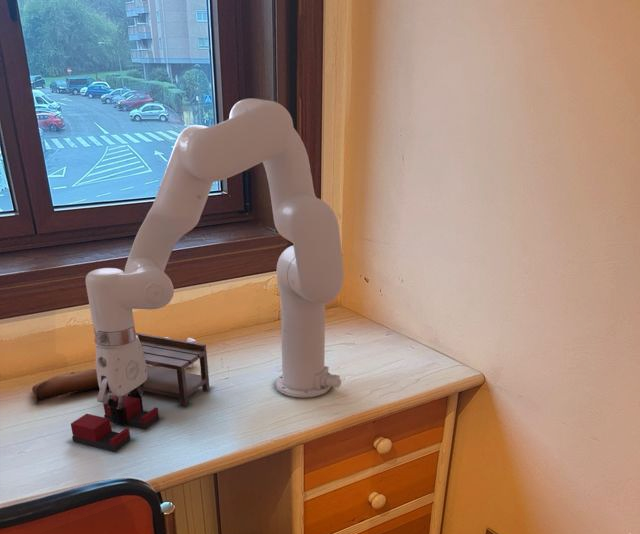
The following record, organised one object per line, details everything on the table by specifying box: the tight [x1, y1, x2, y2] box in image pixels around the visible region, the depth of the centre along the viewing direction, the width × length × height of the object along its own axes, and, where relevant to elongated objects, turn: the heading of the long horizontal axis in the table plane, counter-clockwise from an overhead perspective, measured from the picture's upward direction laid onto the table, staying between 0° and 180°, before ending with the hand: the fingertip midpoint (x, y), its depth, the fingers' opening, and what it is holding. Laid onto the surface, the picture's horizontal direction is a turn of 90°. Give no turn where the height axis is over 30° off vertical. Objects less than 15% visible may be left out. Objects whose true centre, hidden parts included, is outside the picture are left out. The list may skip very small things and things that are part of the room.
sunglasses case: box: [31, 368, 100, 404], centre depth 143 cm, size 18×7×7 cm
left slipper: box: [70, 413, 132, 453], centre depth 123 cm, size 10×5×4 cm, turn 68°
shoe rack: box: [135, 332, 211, 408], centre depth 141 cm, size 20×10×11 cm, turn 68°
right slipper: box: [102, 395, 160, 430], centre depth 131 cm, size 10×5×4 cm, turn 68°
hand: (128, 417), depth 132 cm, fingers closed on right slipper, 4 cm apart
